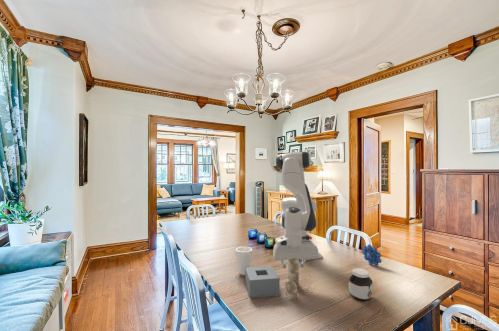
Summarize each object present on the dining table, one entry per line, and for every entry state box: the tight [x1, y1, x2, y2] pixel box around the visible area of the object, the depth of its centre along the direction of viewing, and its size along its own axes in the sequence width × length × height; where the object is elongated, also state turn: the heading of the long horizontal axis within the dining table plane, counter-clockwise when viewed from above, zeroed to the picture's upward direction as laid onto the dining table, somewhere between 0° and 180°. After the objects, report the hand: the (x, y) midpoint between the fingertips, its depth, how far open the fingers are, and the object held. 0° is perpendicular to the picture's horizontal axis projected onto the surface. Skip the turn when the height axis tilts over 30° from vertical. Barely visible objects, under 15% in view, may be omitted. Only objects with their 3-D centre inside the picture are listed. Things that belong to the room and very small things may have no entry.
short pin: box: [285, 281, 298, 301], centre depth 108 cm, size 4×4×6 cm
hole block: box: [244, 265, 281, 299], centre depth 115 cm, size 14×14×8 cm
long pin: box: [288, 258, 300, 287], centre depth 120 cm, size 4×4×14 cm
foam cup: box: [235, 246, 253, 276], centre depth 134 cm, size 10×9×13 cm
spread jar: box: [348, 267, 374, 302], centre depth 111 cm, size 12×11×12 cm
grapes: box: [361, 243, 382, 267], centre depth 145 cm, size 12×7×12 cm, turn 38°
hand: (292, 267), depth 120 cm, fingers open, 8 cm apart
